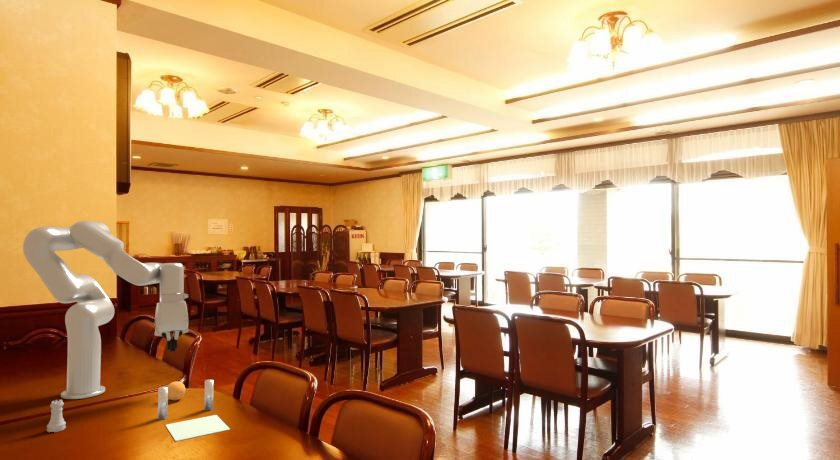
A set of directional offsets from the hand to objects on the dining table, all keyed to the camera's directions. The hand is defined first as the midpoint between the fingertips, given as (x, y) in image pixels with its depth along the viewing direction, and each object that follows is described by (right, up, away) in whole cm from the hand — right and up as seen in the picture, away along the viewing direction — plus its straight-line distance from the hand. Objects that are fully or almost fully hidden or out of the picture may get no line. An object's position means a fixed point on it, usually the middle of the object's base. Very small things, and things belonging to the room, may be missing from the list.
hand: (171, 351), depth 172 cm
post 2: (+20, -14, -17) cm, 30 cm away
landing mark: (+23, -14, -32) cm, 42 cm away
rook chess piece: (-15, -14, -34) cm, 40 cm away
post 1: (+10, -14, -25) cm, 30 cm away
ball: (+5, -11, -8) cm, 15 cm away
